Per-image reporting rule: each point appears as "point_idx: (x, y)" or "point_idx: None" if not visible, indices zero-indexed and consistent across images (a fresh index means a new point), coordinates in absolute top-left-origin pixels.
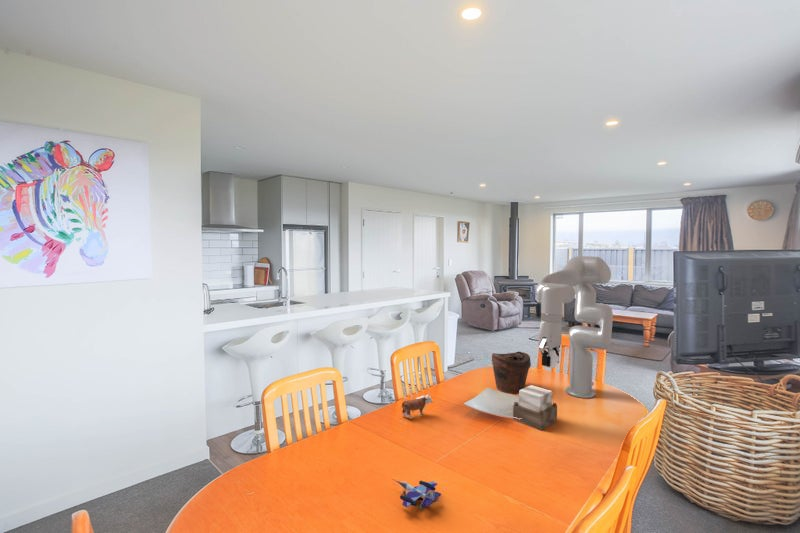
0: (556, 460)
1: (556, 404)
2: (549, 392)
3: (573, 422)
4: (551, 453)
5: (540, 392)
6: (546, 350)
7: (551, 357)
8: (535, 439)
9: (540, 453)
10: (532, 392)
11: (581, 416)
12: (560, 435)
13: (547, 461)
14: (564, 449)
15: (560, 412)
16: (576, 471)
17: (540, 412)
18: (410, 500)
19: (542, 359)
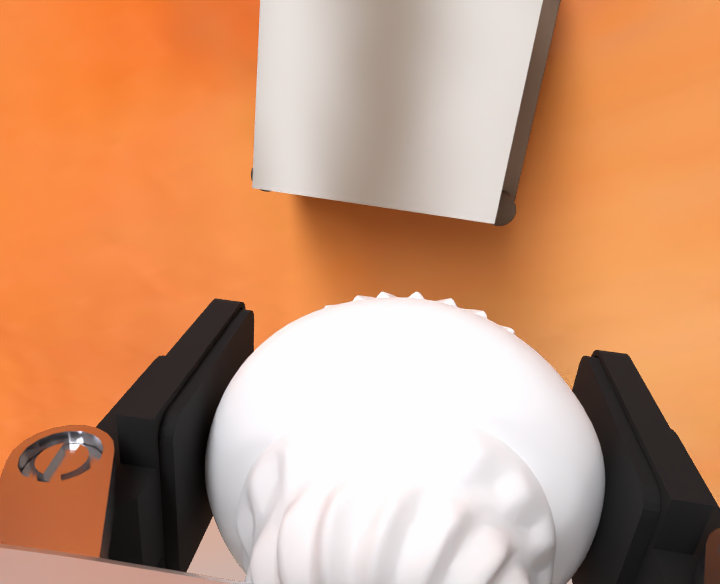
0: (53, 330)
1: (496, 225)
2: (439, 214)
3: (546, 280)
4: (90, 294)
5: (373, 142)
6: (316, 548)
7: (243, 567)
8: (156, 176)
9: (46, 253)
10: (313, 71)
11: (684, 295)
12: (309, 270)
13: (12, 302)
14: (175, 330)
15: (680, 158)
16: (45, 413)
17: (252, 178)
18: None
19: (173, 365)
